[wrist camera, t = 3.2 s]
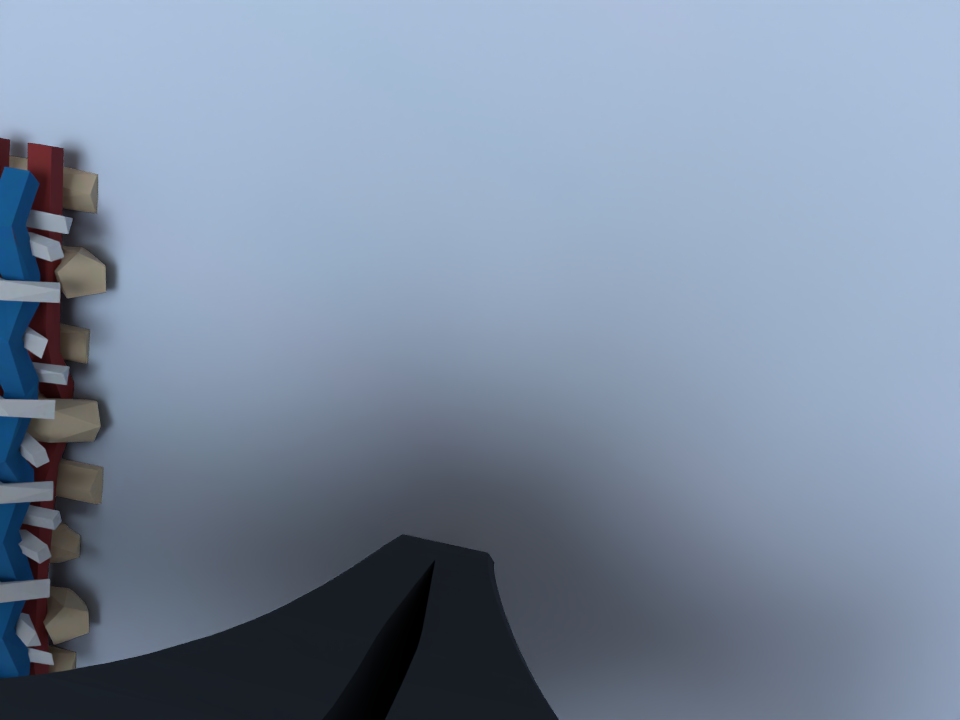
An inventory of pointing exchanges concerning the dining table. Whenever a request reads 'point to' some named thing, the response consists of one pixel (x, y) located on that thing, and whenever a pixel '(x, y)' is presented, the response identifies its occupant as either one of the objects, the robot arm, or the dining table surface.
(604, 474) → the dining table surface
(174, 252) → the dining table surface
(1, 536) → the woven mat
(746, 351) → the dining table surface
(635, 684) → the dining table surface
